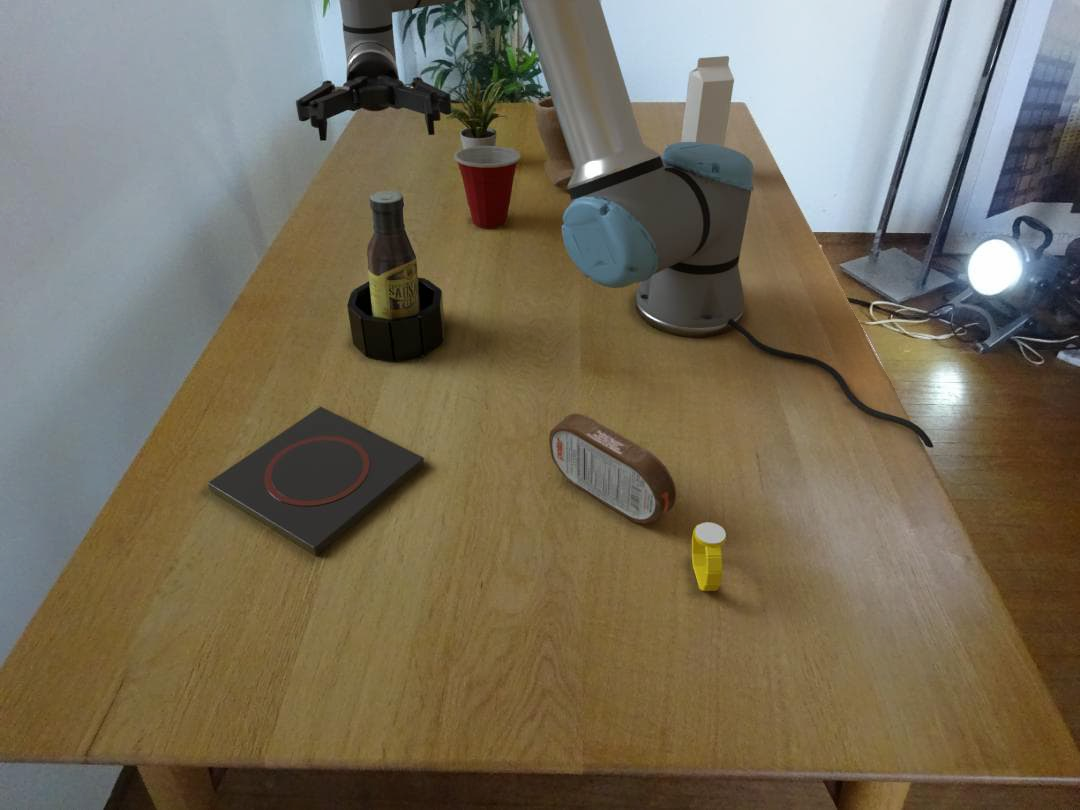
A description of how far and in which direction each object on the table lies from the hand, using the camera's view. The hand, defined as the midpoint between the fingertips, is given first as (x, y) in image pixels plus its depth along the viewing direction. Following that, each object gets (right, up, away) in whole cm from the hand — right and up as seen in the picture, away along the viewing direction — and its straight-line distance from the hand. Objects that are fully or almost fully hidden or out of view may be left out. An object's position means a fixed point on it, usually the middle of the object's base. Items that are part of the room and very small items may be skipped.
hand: (376, 127), depth 102 cm
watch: (+36, -52, -25) cm, 68 cm away
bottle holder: (+2, -26, +8) cm, 27 cm away
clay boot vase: (+26, +7, +51) cm, 58 cm away
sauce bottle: (+1, -26, +8) cm, 27 cm away
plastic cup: (+12, -4, +37) cm, 39 cm away
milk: (+51, +8, +52) cm, 73 cm away
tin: (+27, -45, -17) cm, 55 cm away
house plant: (+9, +13, +59) cm, 61 cm away
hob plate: (-3, -43, -15) cm, 46 cm away
